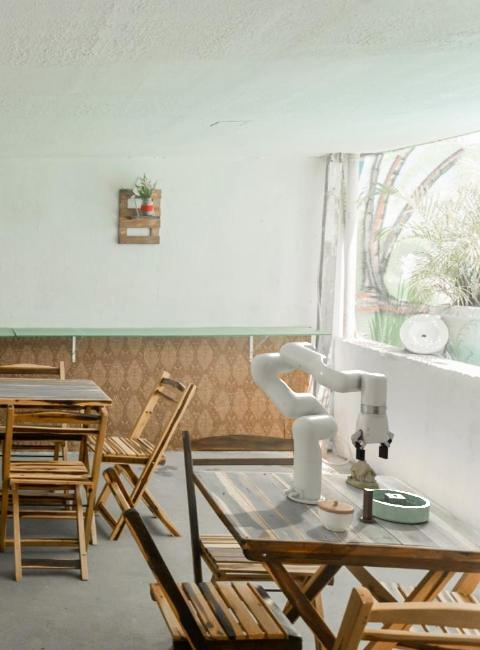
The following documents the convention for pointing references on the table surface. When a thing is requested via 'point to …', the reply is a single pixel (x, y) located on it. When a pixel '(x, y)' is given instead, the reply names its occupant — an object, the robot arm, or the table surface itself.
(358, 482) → the ceramic model
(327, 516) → the trinket box
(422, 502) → the bowl
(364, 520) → the muddler
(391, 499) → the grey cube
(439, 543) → the table surface
